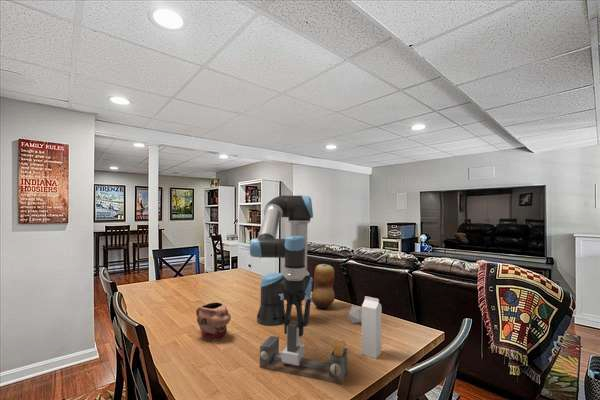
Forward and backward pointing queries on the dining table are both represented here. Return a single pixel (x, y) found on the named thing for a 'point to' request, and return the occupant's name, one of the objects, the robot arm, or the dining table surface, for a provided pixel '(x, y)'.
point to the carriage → (292, 347)
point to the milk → (371, 327)
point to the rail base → (302, 371)
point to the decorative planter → (213, 320)
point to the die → (355, 314)
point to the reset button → (338, 347)
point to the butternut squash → (323, 286)
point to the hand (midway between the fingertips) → (293, 343)
